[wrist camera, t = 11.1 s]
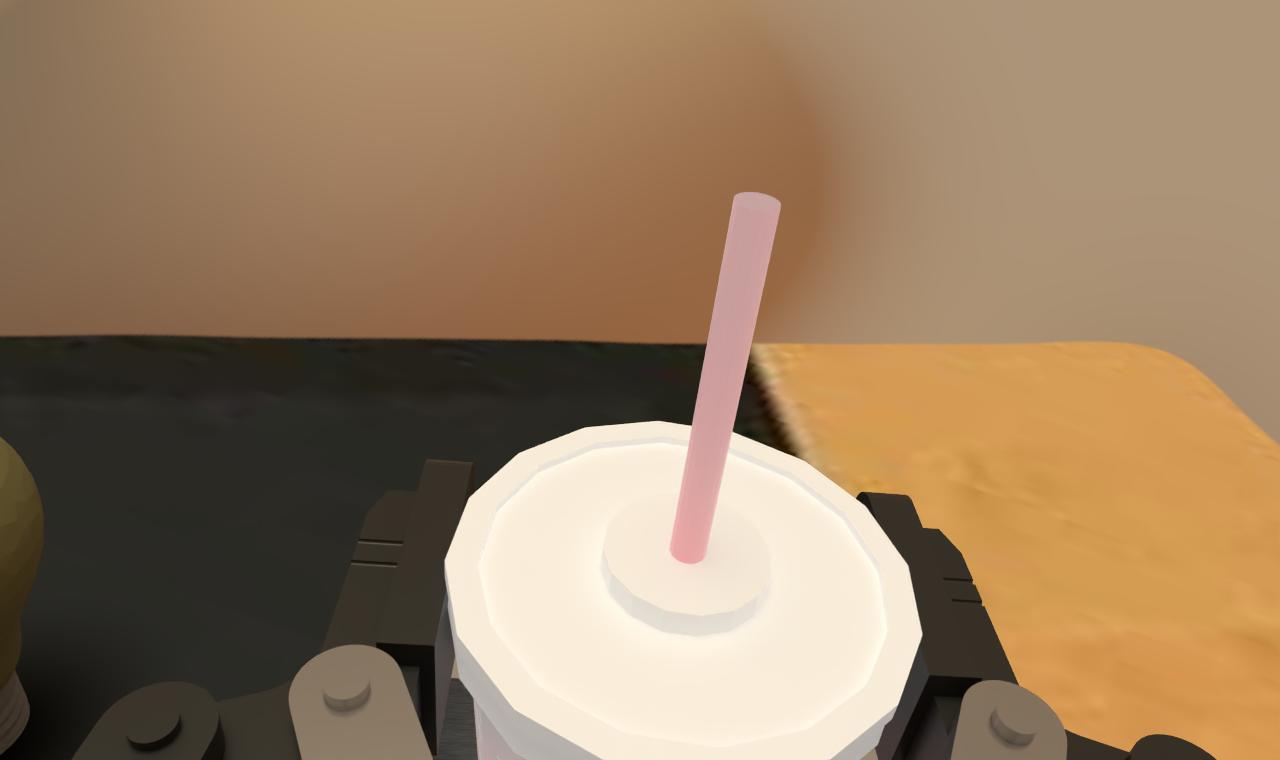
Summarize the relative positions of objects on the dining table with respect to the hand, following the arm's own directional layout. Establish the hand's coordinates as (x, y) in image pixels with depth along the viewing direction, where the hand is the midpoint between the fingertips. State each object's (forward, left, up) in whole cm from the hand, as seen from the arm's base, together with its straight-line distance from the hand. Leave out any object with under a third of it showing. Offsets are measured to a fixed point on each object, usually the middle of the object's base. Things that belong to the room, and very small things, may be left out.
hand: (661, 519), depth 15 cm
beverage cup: (0, -2, -8) cm, 8 cm away
